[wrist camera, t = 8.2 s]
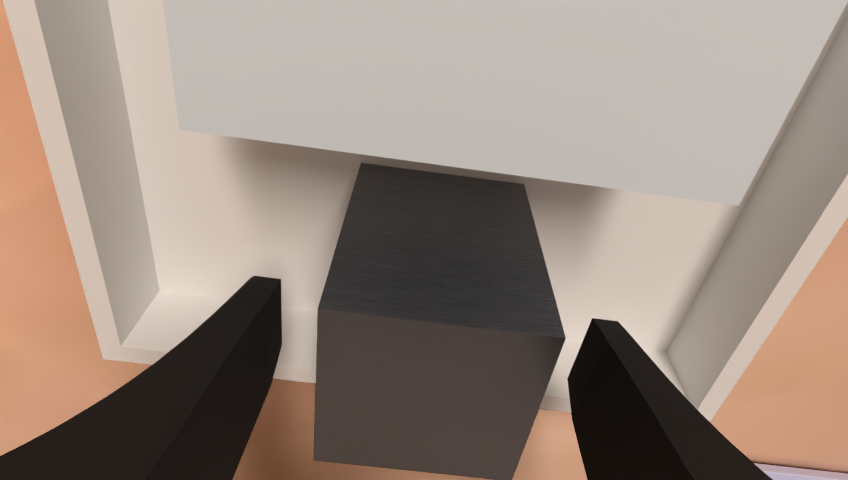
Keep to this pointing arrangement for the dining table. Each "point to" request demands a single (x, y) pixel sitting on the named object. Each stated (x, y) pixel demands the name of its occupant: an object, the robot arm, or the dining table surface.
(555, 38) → the plain white rectangular box
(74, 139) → the tote
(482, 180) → the metal block
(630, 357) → the robot arm
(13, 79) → the dining table surface
